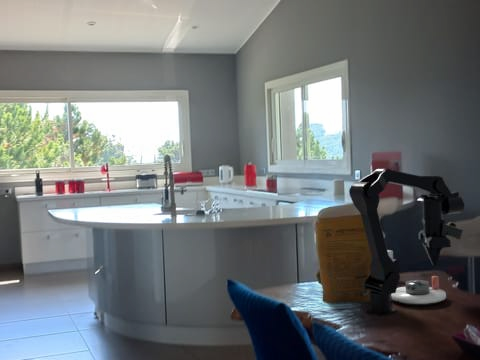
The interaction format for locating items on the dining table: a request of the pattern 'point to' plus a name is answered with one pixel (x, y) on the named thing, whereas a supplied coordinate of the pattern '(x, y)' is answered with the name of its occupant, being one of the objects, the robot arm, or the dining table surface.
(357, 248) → the pancake mix bag
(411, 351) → the dining table surface
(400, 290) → the platter
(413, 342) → the dining table surface
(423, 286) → the cover
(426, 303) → the turntable base
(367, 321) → the dining table surface
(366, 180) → the robot arm
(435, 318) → the dining table surface
